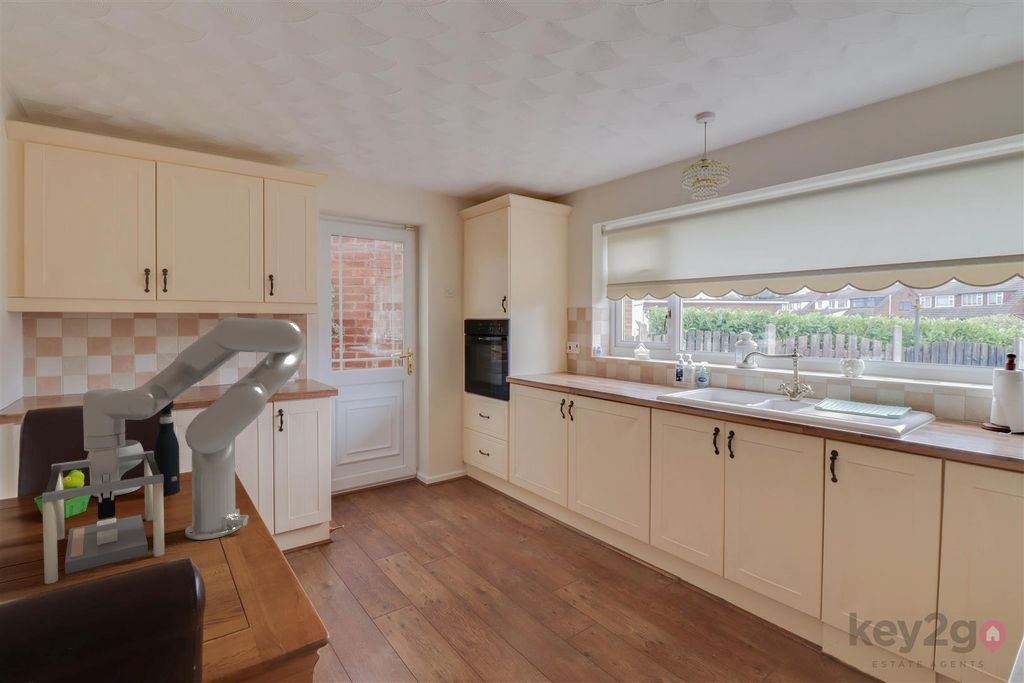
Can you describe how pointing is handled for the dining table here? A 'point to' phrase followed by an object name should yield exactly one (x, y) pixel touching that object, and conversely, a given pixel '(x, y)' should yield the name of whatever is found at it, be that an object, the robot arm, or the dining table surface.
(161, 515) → the four-post gantry frame
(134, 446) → the chalice
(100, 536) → the pale grey block
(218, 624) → the dining table surface
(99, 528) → the beige small block
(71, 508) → the fruit basket
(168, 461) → the dark water bottle
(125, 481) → the rectangular top frame
